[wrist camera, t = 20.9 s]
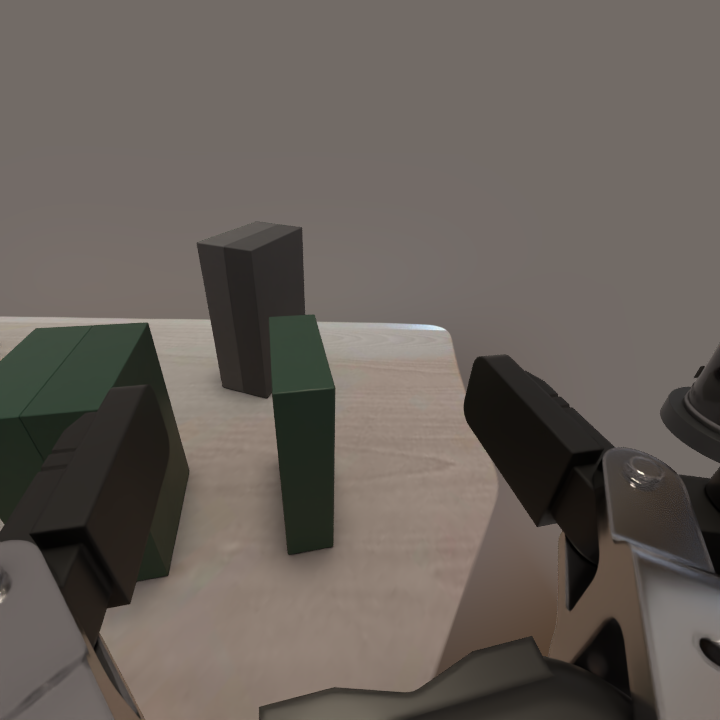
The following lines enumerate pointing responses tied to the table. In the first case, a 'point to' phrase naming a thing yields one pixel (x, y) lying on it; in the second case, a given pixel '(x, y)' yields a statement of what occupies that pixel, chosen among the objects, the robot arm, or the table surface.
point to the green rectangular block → (83, 412)
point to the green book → (303, 430)
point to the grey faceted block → (251, 297)
